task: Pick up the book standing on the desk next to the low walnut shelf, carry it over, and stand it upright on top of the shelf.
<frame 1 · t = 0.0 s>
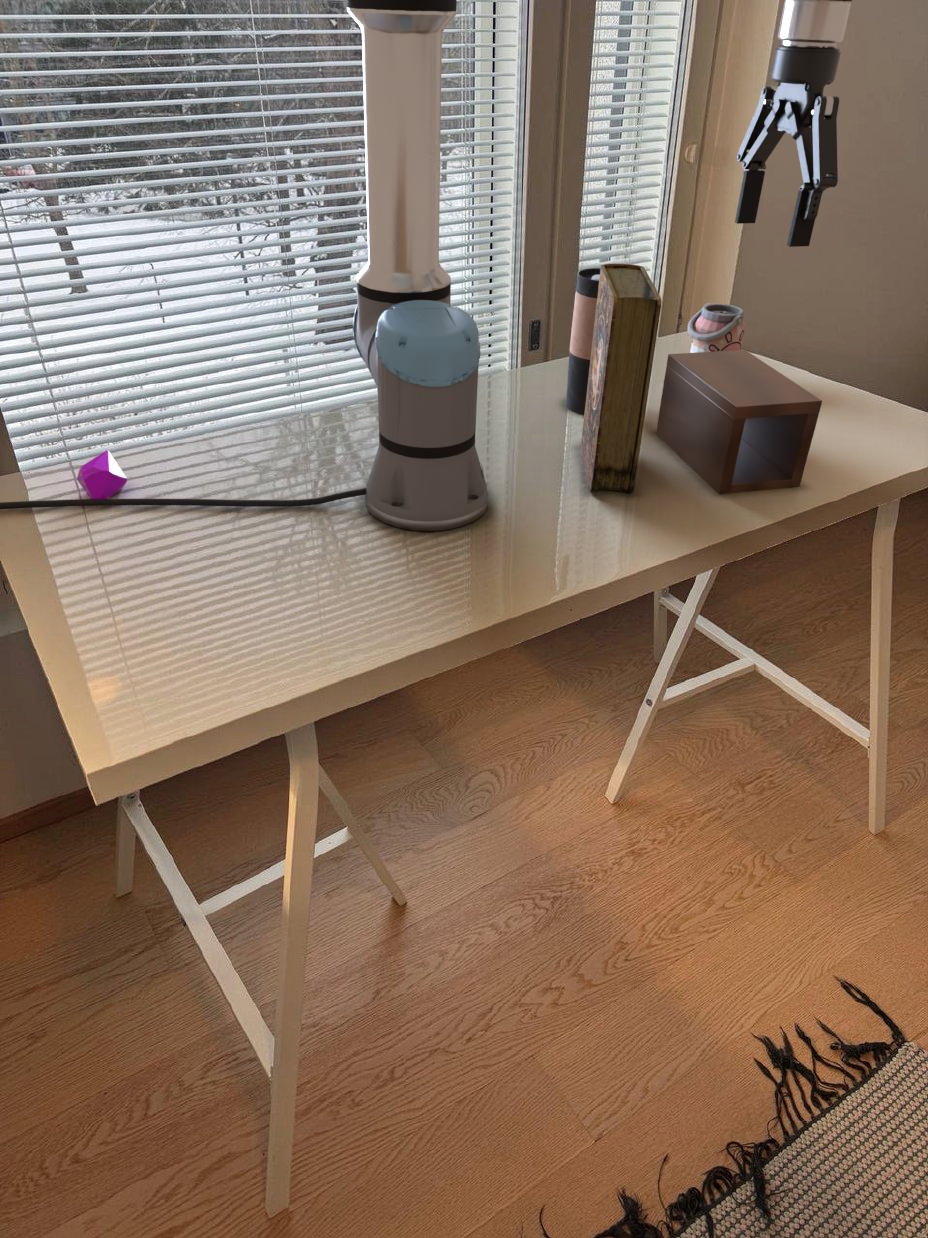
hand: (770, 234, 122), 28 cm above the table, tool pointing down, fingers open, 13 cm apart
patterned ceramic cup: (707, 382, 155), on the table
book: (604, 470, 126), on the table
crystal: (105, 495, 115), on the table
travel mug: (588, 407, 145), on the table
shelf: (724, 458, 130), on the table
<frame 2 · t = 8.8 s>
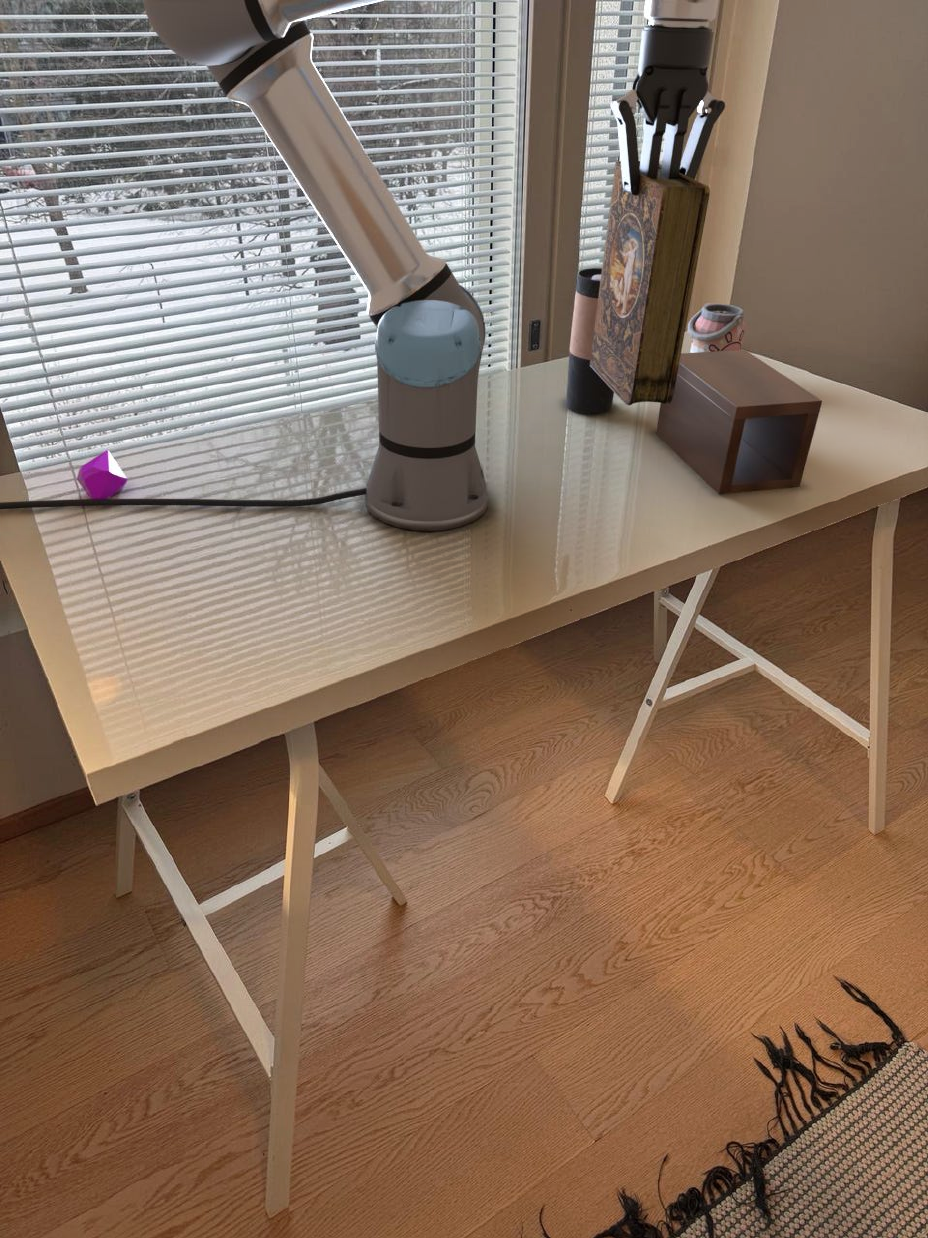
hand: (647, 257, 110), 28 cm above the table, tool pointing down, fingers closed
book: (626, 385, 120), point 12 cm above the table, touching hand
everything else where it was.
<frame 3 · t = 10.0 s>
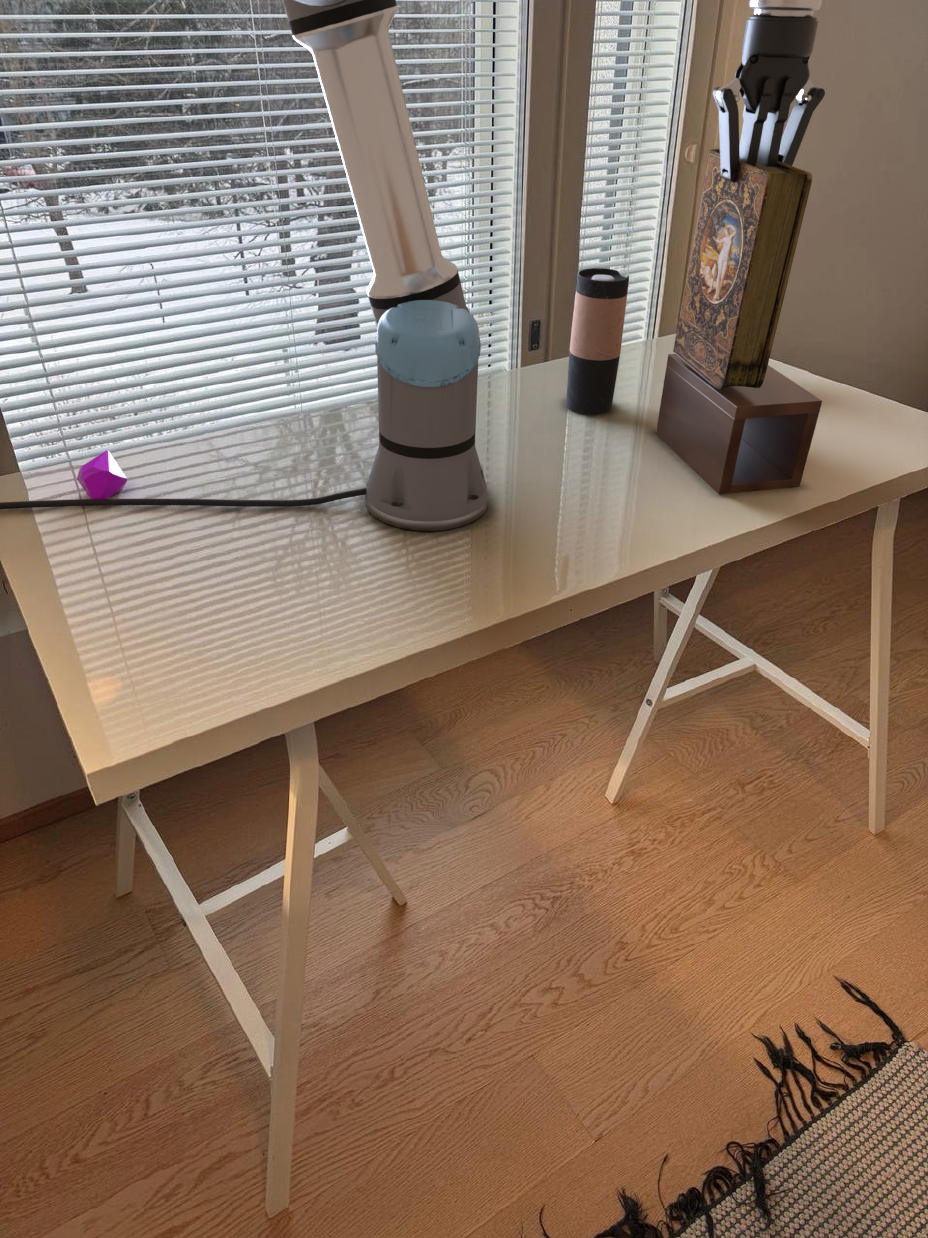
hand: (741, 244, 112), 29 cm above the table, tool pointing down, fingers closed
book: (712, 370, 122), point 13 cm above the table, touching hand
everything else where it was.
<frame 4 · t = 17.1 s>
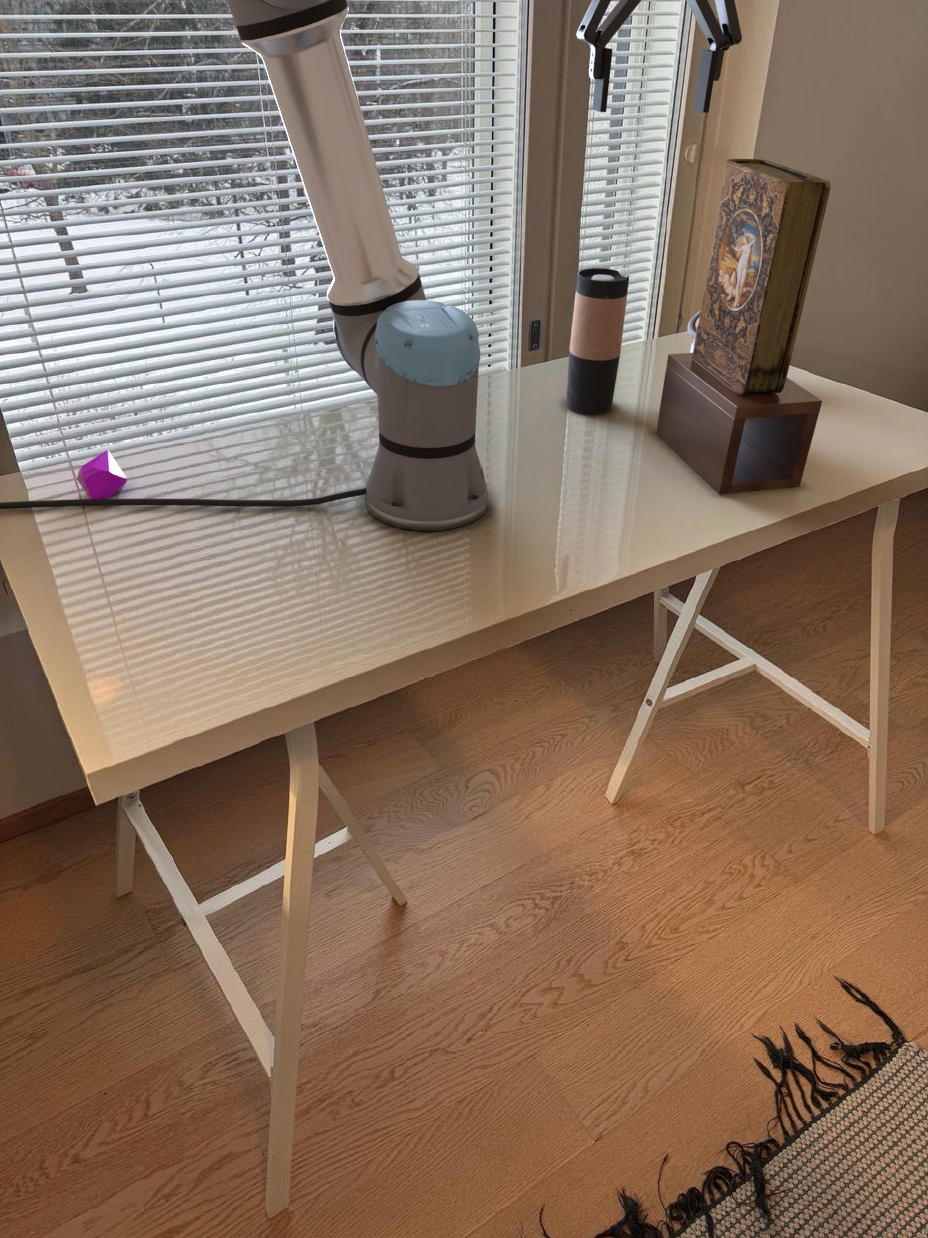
hand: (650, 111, 114), 42 cm above the table, tool pointing down, fingers open, 13 cm apart
book: (732, 376, 123), point 12 cm above the table, touching shelf
everything else where it was.
at the end: book inside the target area on the shelf (1.2 cm from its centre), point 11.8 cm above the shelf's base; book tilted 0°; the gripper is holding nothing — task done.
